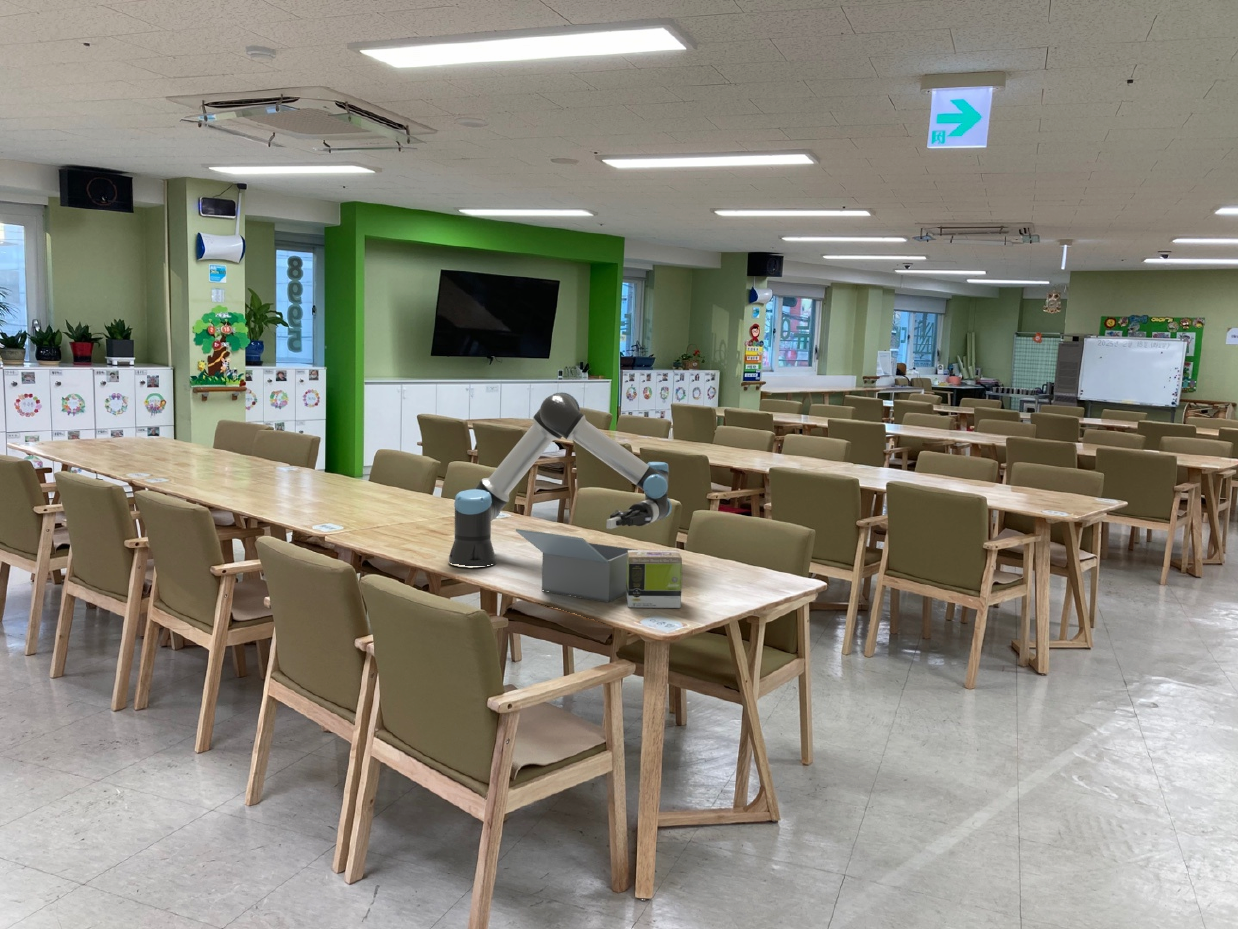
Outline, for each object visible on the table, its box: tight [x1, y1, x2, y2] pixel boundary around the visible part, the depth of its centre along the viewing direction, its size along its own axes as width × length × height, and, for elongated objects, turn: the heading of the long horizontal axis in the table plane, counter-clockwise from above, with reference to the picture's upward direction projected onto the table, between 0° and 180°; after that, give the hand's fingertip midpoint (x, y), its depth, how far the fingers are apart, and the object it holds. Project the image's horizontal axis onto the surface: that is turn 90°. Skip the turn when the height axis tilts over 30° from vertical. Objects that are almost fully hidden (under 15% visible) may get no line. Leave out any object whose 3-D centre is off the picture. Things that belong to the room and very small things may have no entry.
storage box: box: [541, 542, 638, 603], centre depth 280 cm, size 22×18×12 cm
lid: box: [515, 528, 608, 563], centre depth 264 cm, size 21×18×1 cm
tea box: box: [625, 549, 683, 609], centre depth 267 cm, size 15×10×15 cm, turn 92°
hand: (608, 524), depth 287 cm, fingers closed
